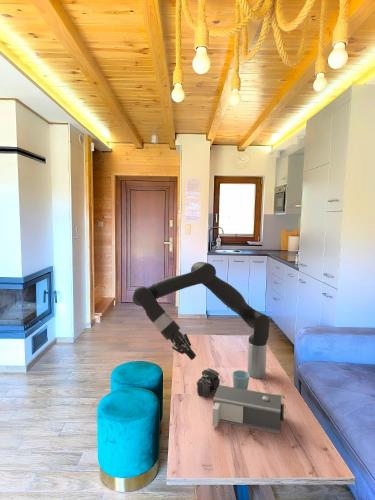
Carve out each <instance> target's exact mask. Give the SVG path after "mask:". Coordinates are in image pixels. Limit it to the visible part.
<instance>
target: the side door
mask: <svg viewBox="0 0 375 500" xmlns="http://www.w3.org/2000/svg"><path fill="white" fill-rule="evenodd" d="M220 419H223V420H228V421H233V422H238V423H242V424H243V406H239V405H234V404H228V403H223V402H218V401H216V402H215V404H214V403H213V407H212V424H211V426H212V427H218V425H219V423H220Z"/></svg>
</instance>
